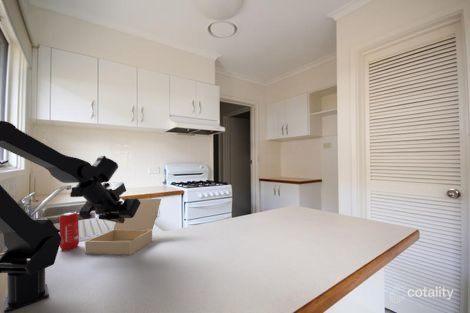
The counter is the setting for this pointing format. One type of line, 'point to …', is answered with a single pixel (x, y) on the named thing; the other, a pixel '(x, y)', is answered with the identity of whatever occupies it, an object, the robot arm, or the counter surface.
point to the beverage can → (69, 231)
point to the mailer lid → (141, 216)
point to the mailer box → (118, 242)
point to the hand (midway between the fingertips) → (123, 222)
